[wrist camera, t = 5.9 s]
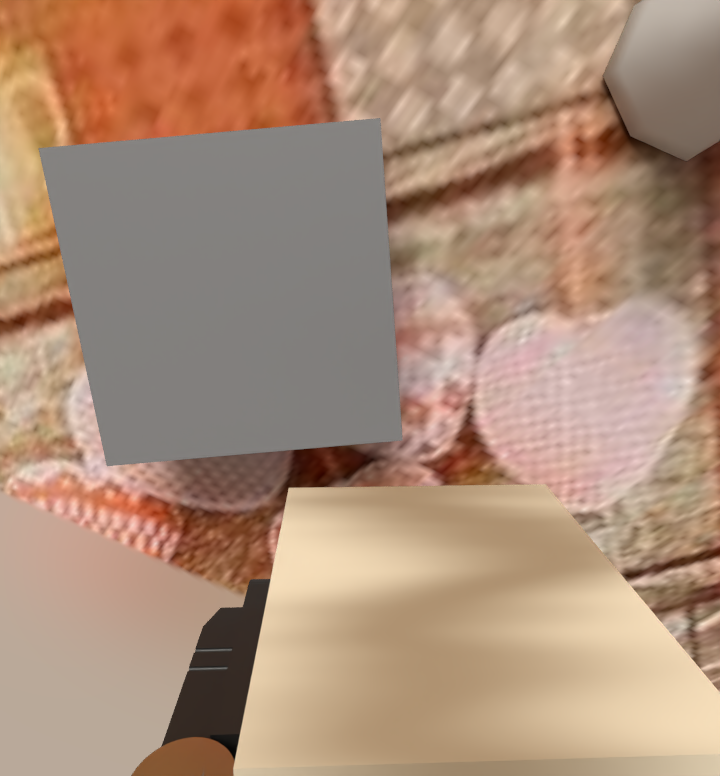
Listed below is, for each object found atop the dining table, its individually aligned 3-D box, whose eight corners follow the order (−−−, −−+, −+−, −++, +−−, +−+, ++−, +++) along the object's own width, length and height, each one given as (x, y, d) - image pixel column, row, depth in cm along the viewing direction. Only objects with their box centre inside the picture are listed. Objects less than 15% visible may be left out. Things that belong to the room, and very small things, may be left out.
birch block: (545, 484, 11) (770, 751, 5) (525, 696, 12) (690, 1098, 7) (288, 487, 11) (233, 768, 5) (295, 702, 12) (256, 1120, 6)
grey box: (372, 144, 26) (380, 118, 20) (391, 399, 29) (402, 440, 23) (108, 167, 26) (38, 148, 20) (155, 419, 29) (107, 465, 23)
